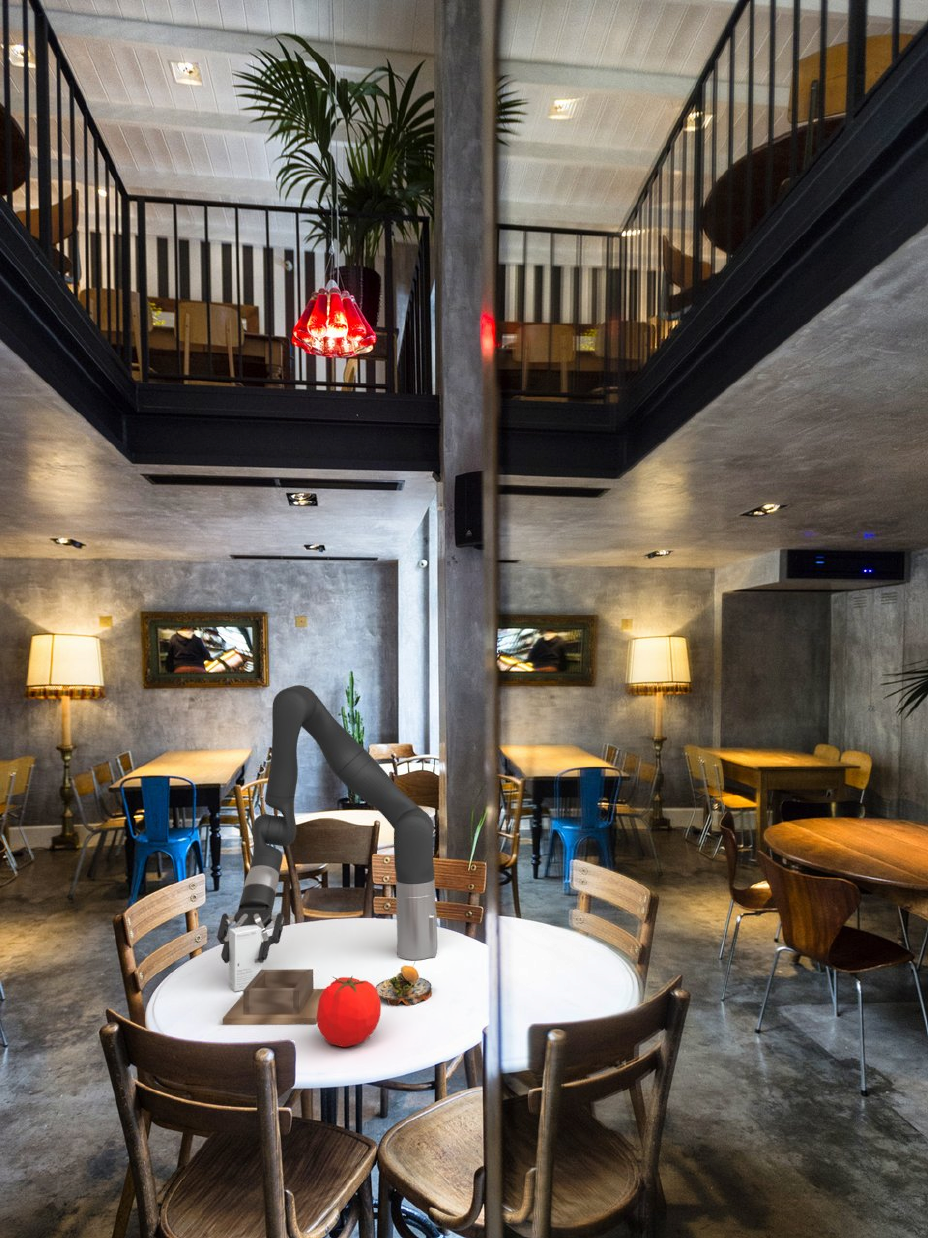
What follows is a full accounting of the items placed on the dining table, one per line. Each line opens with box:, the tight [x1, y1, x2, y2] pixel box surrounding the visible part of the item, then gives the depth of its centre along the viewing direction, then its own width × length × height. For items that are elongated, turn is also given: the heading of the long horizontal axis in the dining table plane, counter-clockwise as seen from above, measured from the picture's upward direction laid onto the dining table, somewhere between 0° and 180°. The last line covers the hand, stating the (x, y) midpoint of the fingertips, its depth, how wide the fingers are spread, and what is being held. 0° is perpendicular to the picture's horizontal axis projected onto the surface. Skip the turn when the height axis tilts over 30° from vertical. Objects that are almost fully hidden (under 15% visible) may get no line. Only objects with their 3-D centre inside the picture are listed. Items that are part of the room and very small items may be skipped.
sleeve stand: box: [222, 968, 325, 1026], centre depth 156 cm, size 18×14×6 cm
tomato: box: [316, 975, 382, 1048], centre depth 141 cm, size 12×12×11 cm
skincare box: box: [228, 925, 263, 993], centre depth 169 cm, size 6×4×12 cm
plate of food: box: [375, 960, 433, 1007], centre depth 162 cm, size 12×12×8 cm
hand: (243, 961), depth 167 cm, fingers closed on skincare box, 7 cm apart
